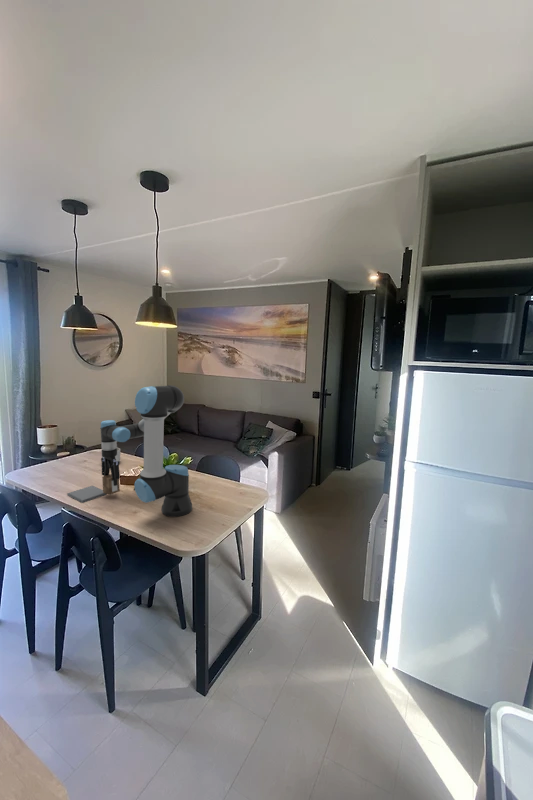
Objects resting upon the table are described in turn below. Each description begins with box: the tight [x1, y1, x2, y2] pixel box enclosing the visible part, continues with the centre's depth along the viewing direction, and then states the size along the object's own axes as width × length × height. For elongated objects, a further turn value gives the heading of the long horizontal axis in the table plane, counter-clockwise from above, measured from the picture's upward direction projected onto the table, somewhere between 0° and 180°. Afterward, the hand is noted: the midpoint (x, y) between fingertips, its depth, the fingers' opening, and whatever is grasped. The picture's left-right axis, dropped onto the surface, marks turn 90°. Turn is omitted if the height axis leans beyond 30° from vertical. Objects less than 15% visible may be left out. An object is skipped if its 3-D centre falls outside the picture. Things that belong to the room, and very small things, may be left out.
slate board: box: [66, 485, 108, 504], centre depth 180 cm, size 16×14×1 cm
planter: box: [100, 447, 121, 463], centre depth 230 cm, size 12×12×11 cm
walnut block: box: [102, 473, 120, 496], centre depth 177 cm, size 6×6×9 cm
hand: (111, 489), depth 177 cm, fingers closed on walnut block, 6 cm apart
